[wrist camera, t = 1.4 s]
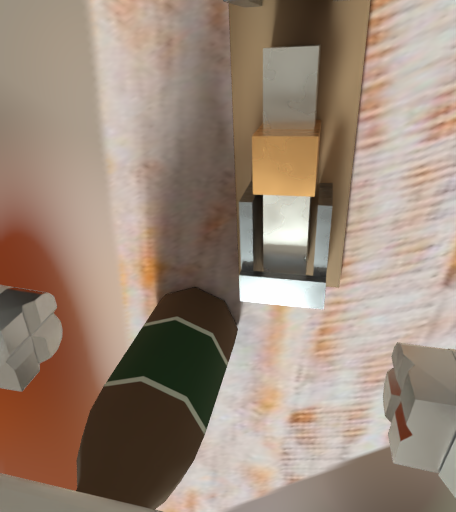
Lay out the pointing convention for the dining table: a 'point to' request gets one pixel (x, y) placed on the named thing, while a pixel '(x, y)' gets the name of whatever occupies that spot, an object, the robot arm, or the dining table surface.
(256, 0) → the socket
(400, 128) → the dining table surface
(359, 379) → the dining table surface
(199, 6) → the dining table surface
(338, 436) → the dining table surface
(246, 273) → the grey u-shaped bracket
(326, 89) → the board
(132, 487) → the beer bottle
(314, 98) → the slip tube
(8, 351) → the robot arm
